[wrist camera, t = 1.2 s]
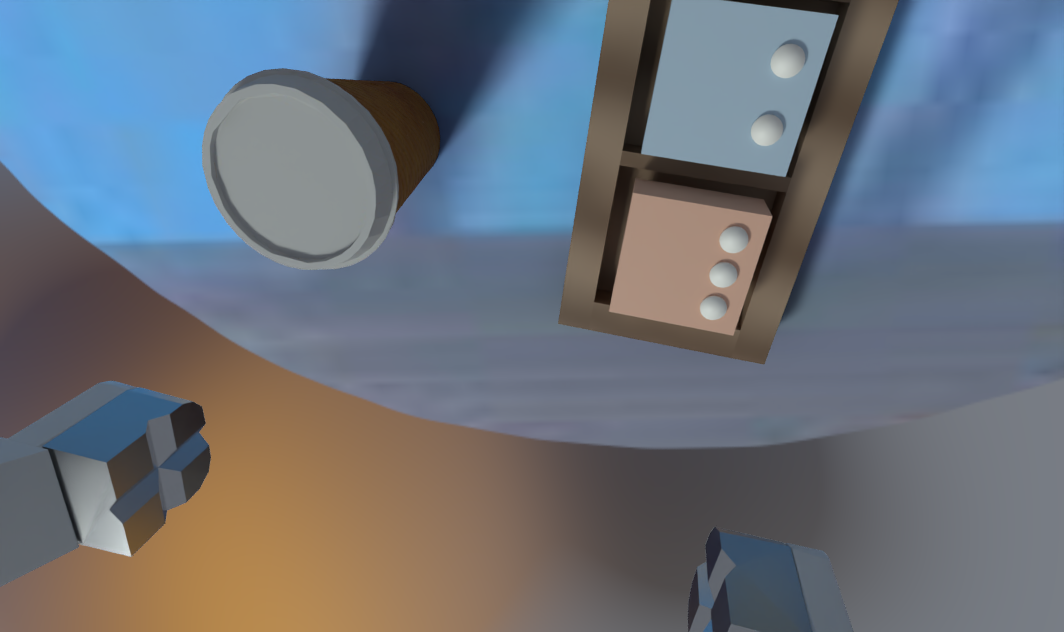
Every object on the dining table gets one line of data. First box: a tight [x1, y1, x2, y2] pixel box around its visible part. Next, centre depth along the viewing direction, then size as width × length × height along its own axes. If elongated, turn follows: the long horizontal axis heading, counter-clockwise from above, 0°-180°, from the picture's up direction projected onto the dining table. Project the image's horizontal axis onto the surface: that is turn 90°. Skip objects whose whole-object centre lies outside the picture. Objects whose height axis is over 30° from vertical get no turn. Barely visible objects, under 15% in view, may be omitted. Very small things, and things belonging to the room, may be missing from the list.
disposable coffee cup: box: [202, 68, 440, 270], centre depth 32 cm, size 10×10×12 cm
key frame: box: [558, 0, 899, 364], centre depth 31 cm, size 31×13×3 cm, turn 173°
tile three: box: [609, 178, 772, 336], centre depth 33 cm, size 7×7×3 cm
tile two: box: [641, 0, 839, 177], centre depth 28 cm, size 7×7×3 cm
